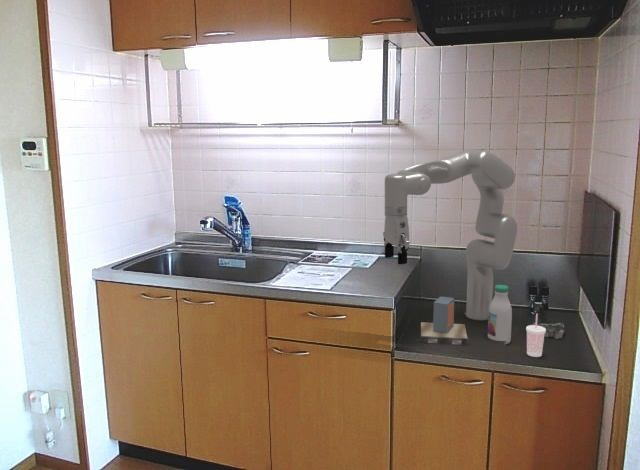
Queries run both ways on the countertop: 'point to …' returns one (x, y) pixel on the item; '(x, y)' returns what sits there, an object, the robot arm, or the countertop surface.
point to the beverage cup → (535, 339)
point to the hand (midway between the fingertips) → (395, 260)
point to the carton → (443, 314)
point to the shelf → (444, 335)
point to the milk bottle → (500, 315)
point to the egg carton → (553, 330)
